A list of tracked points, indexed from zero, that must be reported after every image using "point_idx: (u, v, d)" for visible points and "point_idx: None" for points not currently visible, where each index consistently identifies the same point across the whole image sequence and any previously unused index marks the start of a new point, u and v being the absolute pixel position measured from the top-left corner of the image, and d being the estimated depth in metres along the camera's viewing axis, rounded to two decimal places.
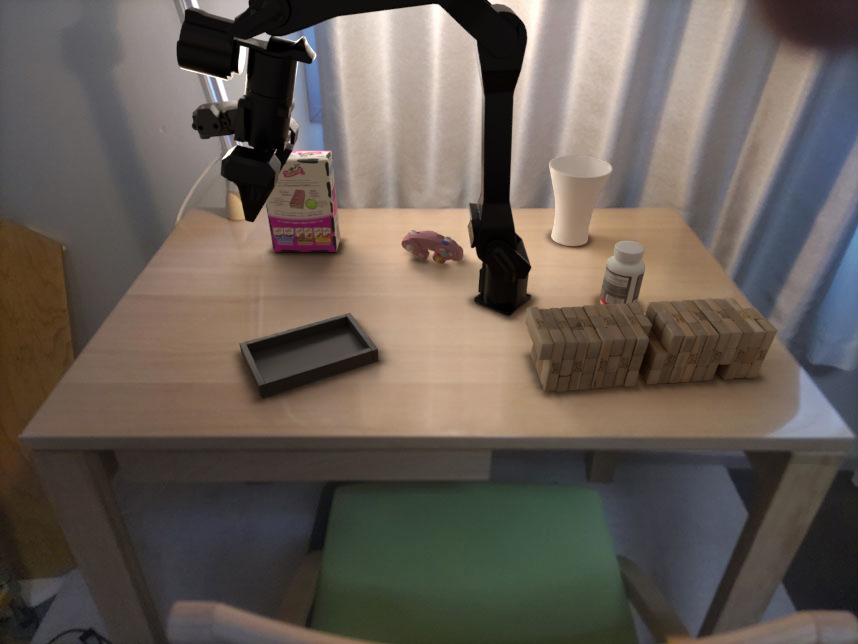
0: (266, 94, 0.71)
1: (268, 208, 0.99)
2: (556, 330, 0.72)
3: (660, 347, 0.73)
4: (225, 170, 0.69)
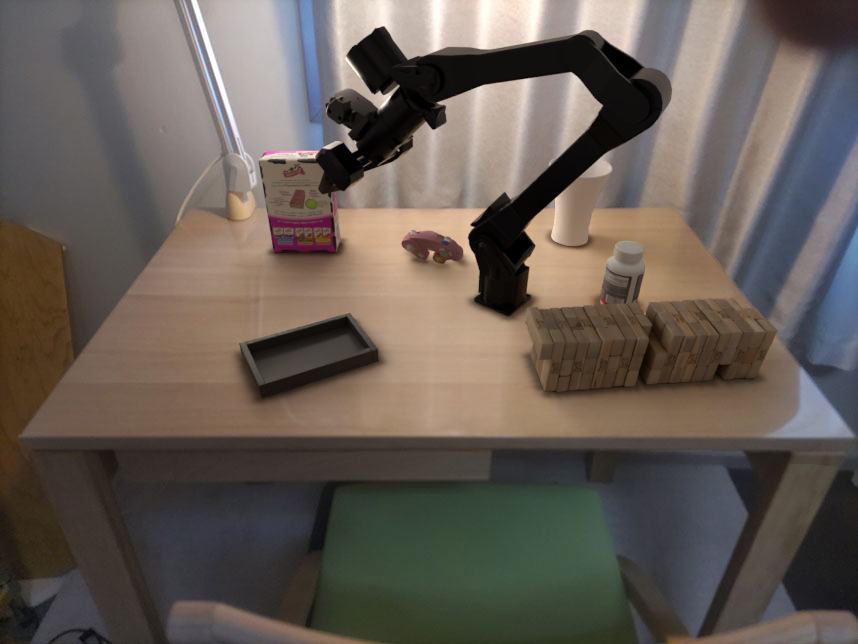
0: (388, 125, 0.82)
1: (268, 208, 0.99)
2: (556, 330, 0.72)
3: (660, 347, 0.73)
4: (319, 156, 0.82)
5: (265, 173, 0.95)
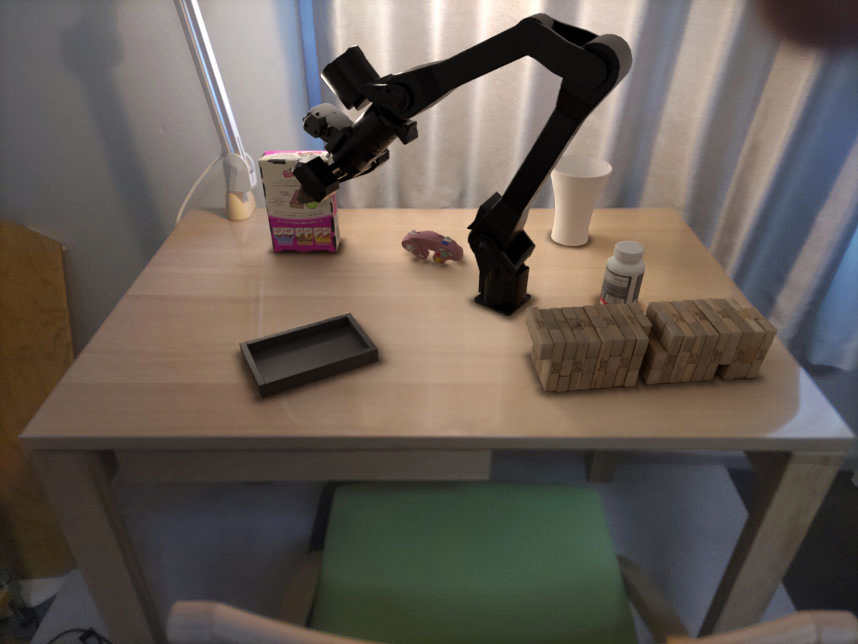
0: (362, 139, 0.85)
1: (268, 208, 0.99)
2: (556, 330, 0.72)
3: (660, 347, 0.73)
4: (295, 169, 0.85)
5: (265, 173, 0.95)
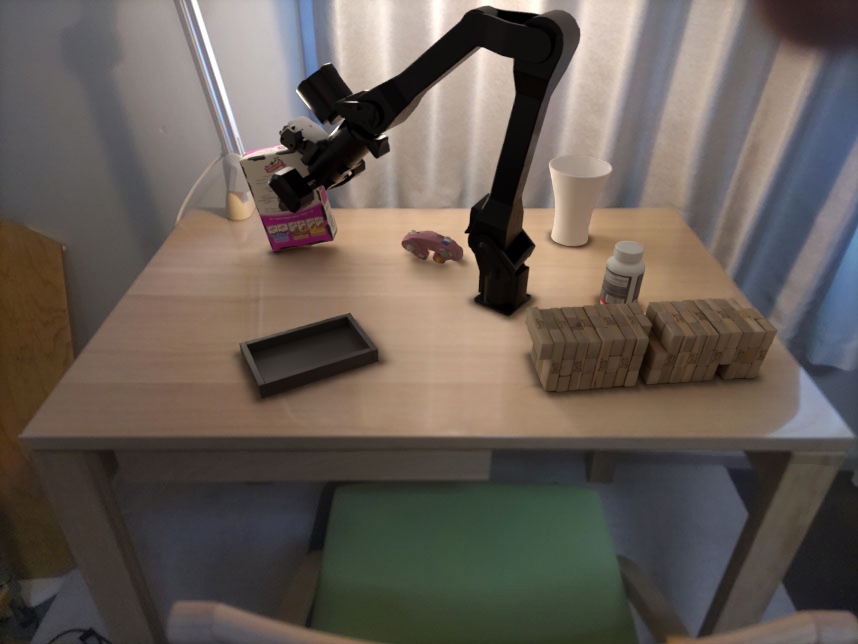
0: (336, 153, 0.89)
1: (258, 207, 0.99)
2: (556, 330, 0.72)
3: (660, 347, 0.73)
4: (271, 181, 0.89)
5: (248, 172, 0.96)
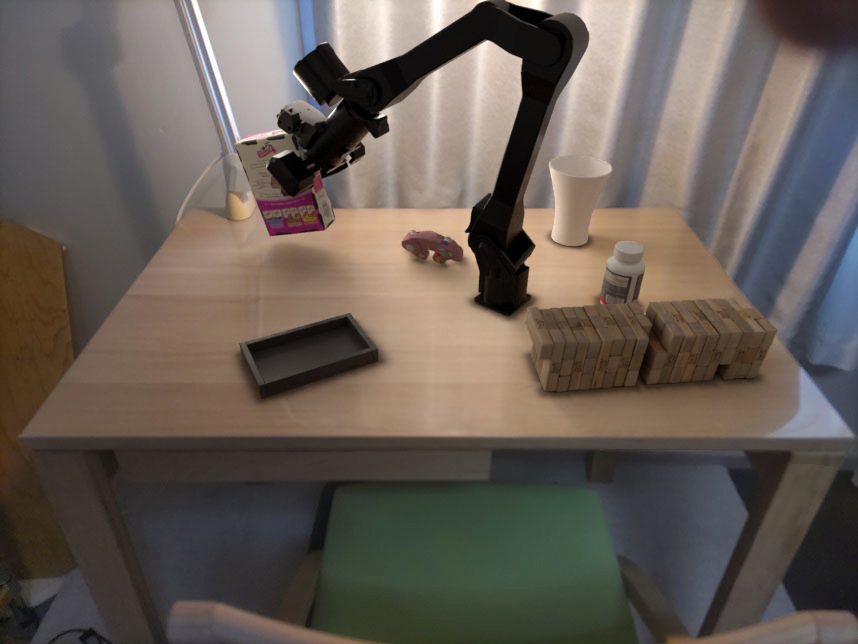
0: (334, 134, 0.87)
1: (254, 192, 0.99)
2: (556, 330, 0.72)
3: (660, 347, 0.73)
4: (269, 165, 0.87)
5: (242, 156, 0.96)
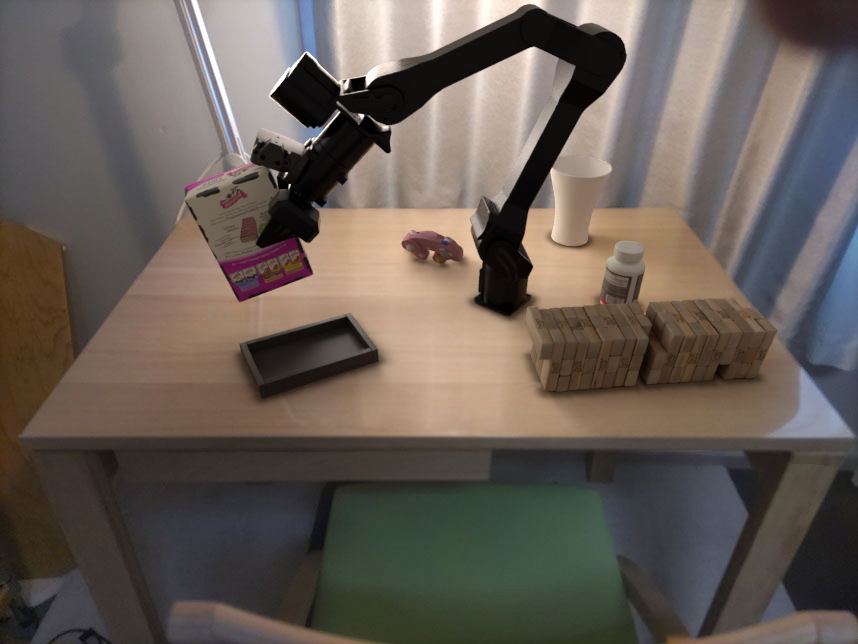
0: (337, 159, 0.74)
1: (216, 253, 0.78)
2: (556, 330, 0.72)
3: (660, 347, 0.73)
4: (276, 211, 0.70)
5: (198, 212, 0.74)
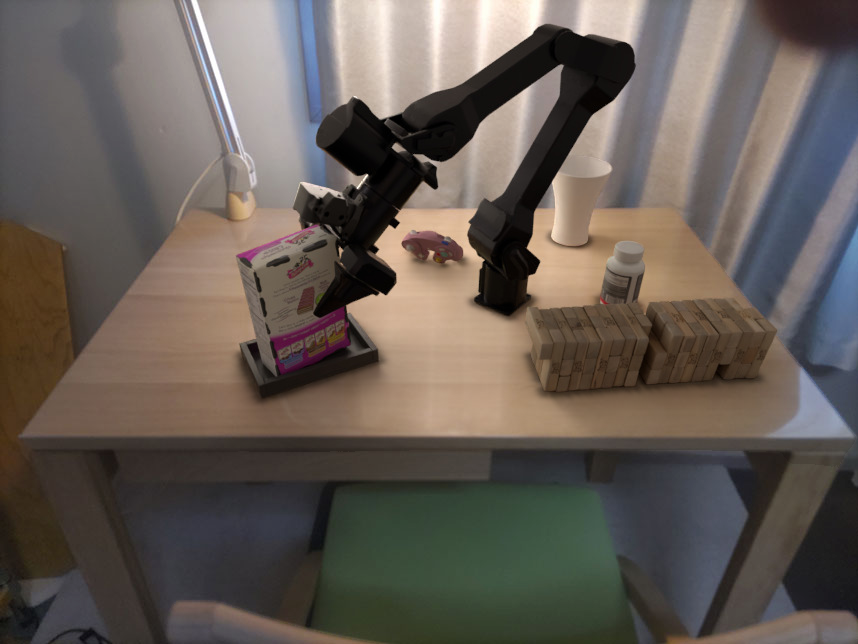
0: (393, 203, 0.70)
1: (270, 328, 0.70)
2: (556, 330, 0.72)
3: (660, 347, 0.73)
4: (359, 269, 0.65)
5: (265, 283, 0.67)
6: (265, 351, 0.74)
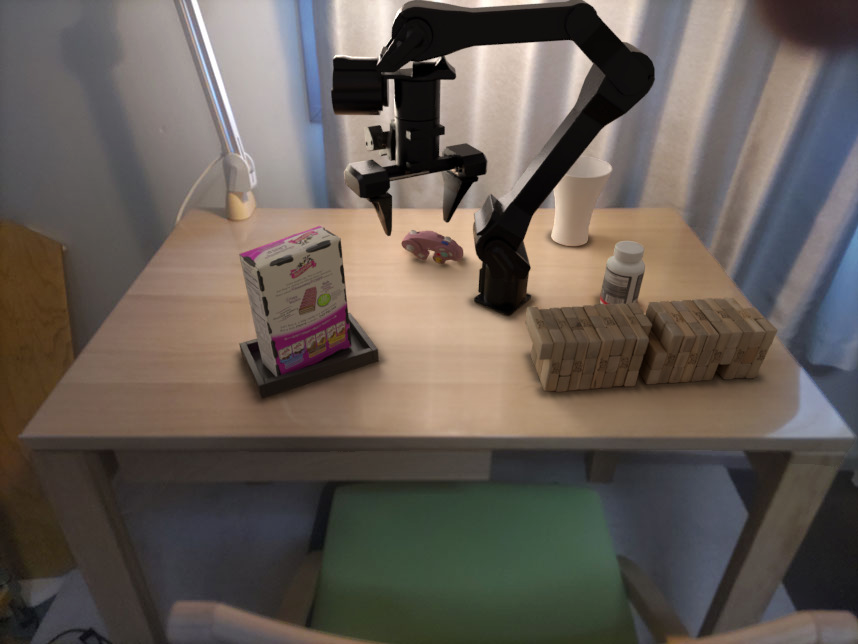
0: (417, 119, 0.73)
1: (272, 328, 0.70)
2: (556, 330, 0.72)
3: (660, 347, 0.73)
4: (345, 177, 0.78)
5: (268, 282, 0.67)
6: (266, 350, 0.74)
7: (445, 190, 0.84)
